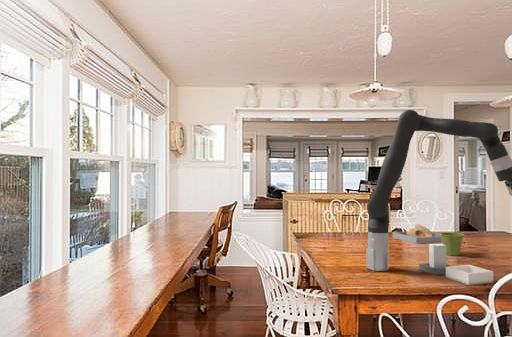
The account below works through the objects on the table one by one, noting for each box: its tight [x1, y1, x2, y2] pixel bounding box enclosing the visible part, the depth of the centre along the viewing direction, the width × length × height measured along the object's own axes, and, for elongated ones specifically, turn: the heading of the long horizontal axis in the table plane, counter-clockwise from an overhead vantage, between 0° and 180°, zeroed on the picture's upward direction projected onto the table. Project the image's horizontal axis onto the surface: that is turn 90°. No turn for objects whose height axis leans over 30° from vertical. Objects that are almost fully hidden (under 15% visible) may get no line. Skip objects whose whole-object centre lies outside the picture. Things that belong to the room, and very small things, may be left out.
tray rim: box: [392, 231, 443, 245], centre depth 266 cm, size 24×24×4 cm
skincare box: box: [428, 243, 447, 268], centre depth 184 cm, size 6×4×12 cm
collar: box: [419, 262, 451, 276], centre depth 184 cm, size 11×11×2 cm
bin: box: [445, 264, 494, 286], centre depth 169 cm, size 12×12×4 cm
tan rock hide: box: [406, 223, 433, 238], centre depth 267 cm, size 18×14×8 cm
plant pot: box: [439, 231, 465, 257], centre depth 219 cm, size 12×12×11 cm
